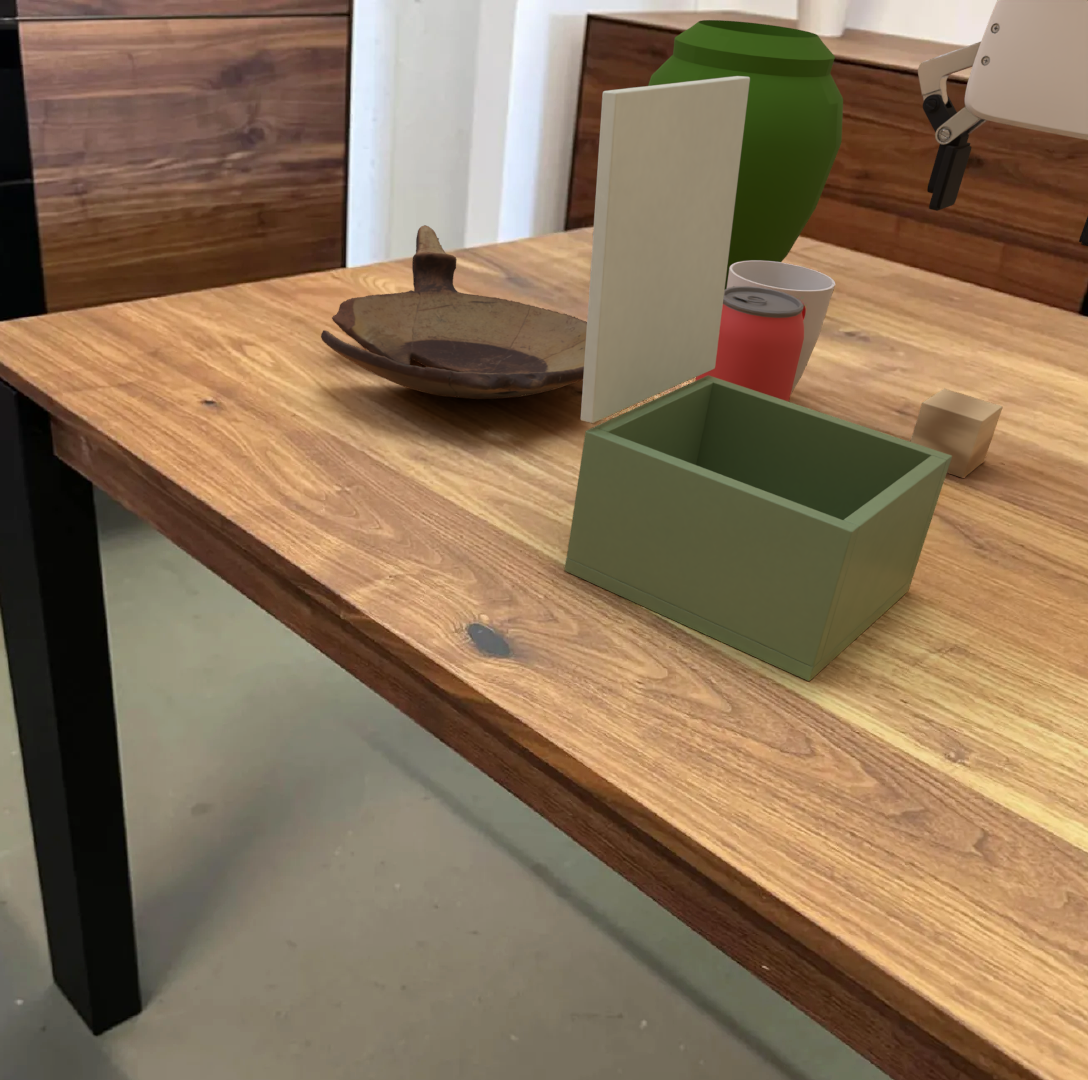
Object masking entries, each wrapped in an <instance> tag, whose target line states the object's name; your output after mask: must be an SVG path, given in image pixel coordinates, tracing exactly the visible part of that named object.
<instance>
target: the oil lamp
mask: <svg viewBox="0 0 1088 1080" xmlns="http://www.w3.org/2000/svg"><path fill="white" fill-rule="evenodd" d="M439 239H440V238H439V237H438V236H437V234H436V231H435V230H434V229H432V227H430V226H429V225H425V224H423V225H422V226H420V227H419V228H418V229H417V233H416V237H415V254H414V255H413V256H412V260H411V261H412V262H411V263H412V264H411V265H412V267H411V270H412V271H411V272H412V280H413V290H408V291H404V292H403V291H402V292H395V293H393V292H392V293H383V294H380V293H378V294H370V295H365V296H357V297H351V298H349V299H346V300H344V301H342V302H341V303H340V304H339V307H338V311H337V312H336V314H333V316H332V317H331V320H332V321H333V322H334V324H336V325H337V327H339V329H340V330H342V332H344V333H345V334H346V335H347V336H348V337H349V338H351V339H353V340H354V341H355V342H356V343H357V344H358V345H360V347H358V346H356V345H352V344H350V343H347V342H345V341H343V340H341V339H340V338H338V337H336V336H335V335H334V334H333V333H331V332H330V331H328V330H325V329H324V330H323V329H322V332H321V333H320V338H321V341H322V342H323V343H324V344H325V345H326V346H328V347H329V348H330V349H332V350H333V351H334V352H336V353H337V354H339V355H340V356H342V357H344V358H345V359H346V360H348V361H350V362H352V363H354V364H355V365H356V366H359V367H361V368H362V369H365V370H366V371H368V372H370V373H372V374H374V375H377V376H379V377H381V378H383V379H385V380H387V381H389V382H392V383H394V384H396V385H399V386H402V387H404V388H408V389H411V390H414V391H418V392H420V393H421V392H422V393H424V394H429V395H435V396H439V397H450V398H457V399H458V398H459V399H471V400H489V399H490V400H492V399H493V400H494V399H495V400H496V399H508V398H516V397H517V398H519V397H526V396H531V395H536V394H542V393H546V392H549V391H553V390H556V389H561V388H563V387H565V386H568V385H571V384H575V383H578V382H581V381H583V376H584V362H585V347H586V332H587V320H583V319H580V318H578V317H576V316H573V315H571V314H567V313H561V312H559V311H556V310H552V309H547V308H544V307H538V306H535V305H531V304H526V303H523V302H520V301H514V300H510V299H509V300H508V299H506V298H500V297H493V296H485V295H479V294H471V293H464V292H459V291H458V290H457V289H456V287H455V286H454V275H455V271H456V269H457V260H458V259H457V257H456V256H454V255H452V254H449V253H446V251H445V249H444V248H443V246H442V244H441V243H440V240H439ZM361 347H362V348H363V349H362V348H361ZM411 360H412V361H415V362H417V363H419V364H421V365H422V366H423V367H422V366H418V365H411Z"/></svg>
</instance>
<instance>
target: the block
mask: <svg viewBox="0 0 1088 1080" xmlns="http://www.w3.org/2000/svg"><path fill="white" fill-rule="evenodd" d="M1003 407H1004V406H1003V405H1001V404H997V403H994V402H992V401H991V402H990V401H987V400H985V399H981V398H977V397H975V396H971V395H968V394H964V393H961V392H957V391H954V390H952V389H947V388H942V389H941V390H939V391H938V392H936V393H934V394H933V395H931V396H929V398H927V399H925V400H923V401H922V402H921V405H920V408H919V410H918V411H919V412H918V415H917V418H916V421H915V424H914V428H913V431H912V433H911V438H910V441H909V442H912V443H915V444H918V445H921V446H924V447H927V448H930V449H933V450H936V451H939V452H942V453H945V454H948V455H951V456H952V458H951V461H950V464H949V468H948V471H947V474H949V475H952V476H956V477H959V478H962V479H965V478H966V477H967V476H968V475H970V474H971V473H972V472H973V471H975V470H976V469H977V468H978V467H979V466H980V465H982V464H984V463H985V461H986V458H987V454H988V451H989V449H990V445H991V443H992V440H993V437H994V433H995V431H996V428H997V425H998V423H999V419H1000V417H1001V413H1002V410H1003Z"/></svg>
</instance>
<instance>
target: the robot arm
mask: <svg viewBox="0 0 1088 1080" xmlns="http://www.w3.org/2000/svg"><path fill="white" fill-rule="evenodd" d="M967 69H971V70H970V72H969V77H968V80H967V84H966V88H965V93H964V107H963V108H961V109H960V110H959V111H957V110H956V108H955V106H954V104H953V102H952V100H951V99H950V97H949V96H948V93H947V89H948V88H947V80H948V77H950V76H951V75H953V74H955V73H958V72H961V71H964V70H967ZM917 75H918V82H919V87H920V93H921V96H922V99H923V100H922V101H923V102H922V109H923V112H924V115H926V118H927V120H928V121H929V123H930V125H931V127H932V129H933V131H934V133H935V134H934V139H935V141H936V142H937V144H939V146H938V149H937V152H936V156H935V159H934V163H933V167H932V170H931V173H930V177H929V179H928V183H927V189H926V191H927V193H928V194H929V193H930V194H932V195H931V197H930V202H929V205H928V209H929V210H931V211H940V210H943V209H946V208H949V207H951V206H954V205H955V203H956V201H957V198H958V195H959V192H960V188H961V185H962V182H963V178H964V174H965V173H966V169H967V165H968V161H969V159H970V155H971V152H972V146H971V142H968V141H969V137H970V134H972V133H973V132H974V131H976V130H977V129H978V128H980V127H981V126H982V125H983V124H985V123H986V122H988V121H989V122H994V123H997V124H1003V125H1008V126H1013V127H1018V128H1021V129H1026V130H1027V129H1028V130H1033V131H1037V132H1038V131H1039V132H1044V133H1049V134H1054V135H1059V136H1064V137H1068V138H1069V137H1070V138H1075V139H1080V140H1085V141H1088V0H996V2H995V5H994V7H993V10H992V12H991V15H990V17H989V19H988V22H987V24H986V28H985V30H984V33H983V36H982V38H981V41H978V42H975V43H973V44H970V45H967V46H964V47H961V48H957V49H956V50H952V51H950V52H946V53H944V54H941V55H938V56H935V57H932V58H929V59H927V60H924V61H922V62H921V63H920V64H919V65H918V67H917ZM1078 243H1081V246H1084V247H1088V216H1086V219H1085V223H1084V225H1083V228H1082V231H1081V233H1080V237H1079V239H1078Z"/></svg>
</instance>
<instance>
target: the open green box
mask: <svg viewBox="0 0 1088 1080" xmlns="http://www.w3.org/2000/svg"><path fill="white" fill-rule="evenodd" d="M951 458H952V456H951V455H948V454H945V453H942V452H939V451H936V450H933V449H930V448H927V447H924V446H921V445H918V444H915V443H912V442H910V441H908V440H906V439H903V438H900V437H897V436H893V435H891V434H888V433H885V432H881V431H878V430H876V429H872V428H869V427H866V426H864V425H860V424H858V423H855V422H851V421H848V420H845V419H842V418H839V417H836V416H833V415H831V414H827V413H824V412H821V411H817V410H816V409H812V408H808V407H806V406H803V405H801V404H797V403H795V402H790V401H789V402H788V401H785V400H782V399H779V398H776V397H773V396H770V395H767V394H764V393H761V392H757V391H754V390H751V389H748V388H745V387H742V386H739V385H736V384H733V383H730V382H727V381H724V380H721V379H718V378H715V377H712V376H709V375H707V376H705V377H703V378H701V379H699V380H697V381H695V380H693V381H692V382H690V383H688V384H686V385H683V386H681V387H678V388H676V389H674V390H673V391H670V392H668V393H666V394H664V395H661V396H659V397H657V398H655V399H653V400H650V401H648V402H646V403H644V404H641V405H639V406H636V407H635V408H632V409H630V410H628V411H626V412H625V413H624V412H623V413H621V414H620V415H617V416H615V417H612V418H611V419H608V420H606V421H604V422H601V423H599V424H597V425H595V426H594V427H591V428H589V429H587V430H585V433H584V439H583V445H582V452H581V460H580V466H579V471H578V478H577V484H576V485H577V486H576V492H575V498H574V505H573V511H572V519H571V526H570V531H569V532H570V533H569V538H568V545H567V552H566V558H565V563H564V572H566V573H568V574H571V575H573V576H575V577H578V578H579V579H582V580H584V581H587V582H588V583H590V584H593V585H595V586H598V587H599V588H602V589H604V590H606V591H607V592H610V593H612V594H615V595H617V596H619V597H621V598H624V599H625V600H628V601H631V602H633V603H634V604H637V605H638V606H642V607H644V608H645V609H648V610H650V611H653V612H654V613H657V614H659V615H661V616H664V617H666V618H668V619H670V620H673V621H674V622H677V623H679V624H681V625H682V626H683V625H684V626H685V627H688V628H690V629H692V630H694V631H697V632H699V633H701V634H703V635H704V636H705V635H706V636H708V637H710V638H712V639H714V640H717V641H719V642H721V643H723V644H725V645H727V646H730V647H732V648H734V649H737V650H739V651H741V652H743V653H746V654H748V655H750V656H752V657H754V658H757V659H758V660H761V661H763V662H765V663H767V664H769V665H772V666H774V667H776V668H779V669H780V670H783V671H785V672H787V673H789V674H792V675H794V676H795V677H799V678H801V679H803V680H805V681H807V682H810V681H811V680H812V679H814V678H816V676H817V675H818V674H819V673H820V672H821V671H823V670H824V669H825V668H826V667H827V666H828V665H829V664H830V663H831V662H833V660H835V659H836V658H837V657H838V656H839V655H841V653H842V652H843V651H845V649H847V648H848V647H849V646H850V645H851V644H852V643H853V642H854V641H855V640H856V639H857V638H859V637H860V636H861V635H862V634H863V633H864V632H865V631H866V630H868V629H869V628H870V627H871V626H872V625H873V624H874V623H875V622H876V621H878V619H879V618H881V617H882V616H883V615H884V614H885V613H886V612H887V611H888V610H889V609H890V608H892V607H893V606H894V605H895V604H896V603H897V602H898V601H900V599H901V598H903V597H904V596H905V595H906V594H907V593H908V592H909V590H910V588H911V585H912V581H913V579H914V576H915V573H916V569H917V566H918V563H919V560H920V557H921V554H922V550H923V547H924V544H925V541H926V538H927V535H928V533H929V529H930V526H931V523H932V521H933V518H934V517H933V516H934V514H935V511H936V507H937V504H938V501H939V499H940V495H941V492H942V488H943V486H944V483H945V480H946V477H947V474H948V473H947V471H948V468H949V464H950V461H951Z"/></svg>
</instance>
